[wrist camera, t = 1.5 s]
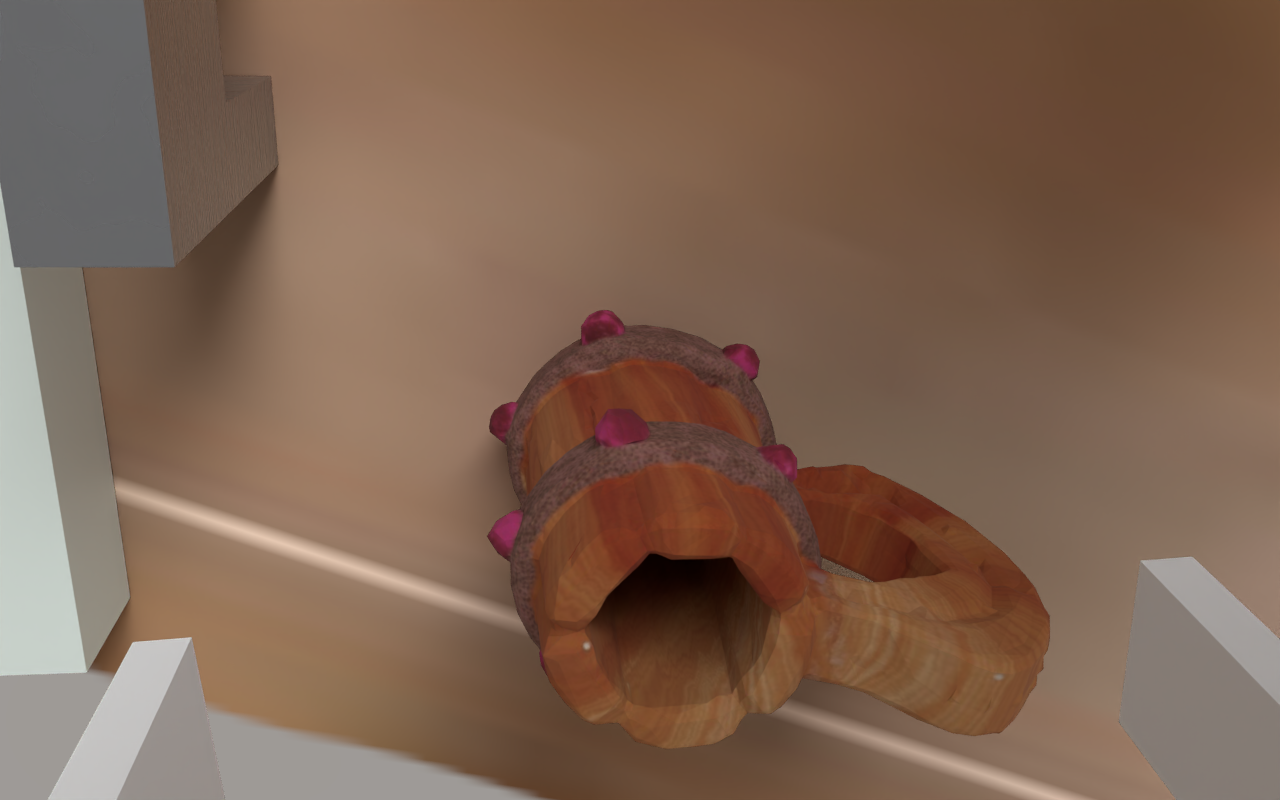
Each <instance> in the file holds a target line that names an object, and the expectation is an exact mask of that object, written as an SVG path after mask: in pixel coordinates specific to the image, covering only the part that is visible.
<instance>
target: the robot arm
mask: <svg viewBox="0 0 1280 800" xmlns="http://www.w3.org/2000/svg"><path fill="white" fill-rule="evenodd" d="M1119 723H1120V725H1121V726H1122V727H1123V729H1124V730H1125V731H1126V733H1127V734H1128V735H1129V737H1130V738H1131V739H1132V741H1133V742H1134V743H1135V745H1136V746H1137V748H1138V749H1139V750H1140V752H1141V753H1142V754H1143V756H1144V757H1145V758H1146V760H1147V761H1148V762H1149V764H1150V765H1151V766H1152V768H1153V769H1154V770H1155V772H1156V773H1157V774H1158V776H1159V777H1160V778H1161V780H1162V781H1163V782H1164V784H1165V785H1166V786H1167V788H1168V789H1169V790H1170V792H1171V793H1172V794H1173V796H1174V797H1175V799H1176V800H1280V639H1279V638H1278V637H1277V636H1276V635H1275V634H1274V633H1273V632H1272V631H1270V630H1269V629H1268V628H1267V627H1266V626H1265V625H1264V624H1263V623H1262V622H1261V621H1260V620H1259V619H1258V618H1257V617H1256V616H1255V615H1254V614H1253V613H1251V612H1250V611H1249V610H1248V609H1247V608H1246V607H1245V606H1244V605H1243V604H1242V603H1241V602H1240V601H1239V600H1238V599H1237V598H1236V597H1235V596H1234V595H1232V594H1231V593H1230V592H1229V591H1228V590H1227V589H1226V588H1225V587H1224V586H1223V585H1222V584H1221V583H1220V582H1219V581H1218V580H1217V579H1216V578H1215V577H1213V576H1212V575H1211V574H1210V573H1209V572H1208V571H1207V570H1206V569H1205V568H1204V567H1203V566H1202V565H1201V564H1200V563H1199V562H1198V561H1197V560H1196V559H1194V558H1193V557H1181V558H1168V559H1156V560H1143V561H1140V566H1139V574H1138V581H1137V589H1136V596H1135V604H1134V611H1133V619H1132V626H1131V634H1130V641H1129V648H1128V656H1127V663H1126V671H1125V678H1124V686H1123V693H1122V701H1121V708H1120V716H1119ZM48 800H225V796H224V792H223V787H222V782H221V777H220V772H219V768H218V763H217V758H216V753H215V749H214V743H213V738H212V734H211V729H210V724H209V719H208V714H207V709H206V705H205V700H204V695H203V690H202V685H201V680H200V676H199V671H198V666H197V661H196V656H195V651H194V647H193V642H192V637H190V638H178V639H166V640H153V641H141V642H133V643H132V645H131V647H130V648H129V650H128V652H127V654H126V656H125V658H124V659H123V661H122V663H121V665H120V667H119V669H118V671H117V672H116V674H115V676H114V678H113V680H112V682H111V684H110V685H109V687H108V689H107V691H106V693H105V695H104V696H103V698H102V700H101V702H100V704H99V706H98V708H97V709H96V711H95V713H94V715H93V717H92V719H91V720H90V723H89V724H88V726H87V728H86V730H85V732H84V733H83V735H82V737H81V739H80V741H79V743H78V745H77V746H76V748H75V750H74V752H73V754H72V756H71V758H70V759H69V761H68V763H67V765H66V767H65V769H64V770H63V772H62V774H61V776H60V778H59V780H58V781H57V784H56V785H55V787H54V789H53V791H52V793H51V795H50V796H49V798H48Z"/></svg>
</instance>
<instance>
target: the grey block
mask: <svg viewBox="0 0 1280 800" xmlns="http://www.w3.org/2000/svg"><path fill="white" fill-rule="evenodd" d="M277 166H278V156H277V144H276V131H275V119H274V107H273V95H272V83H271V76H225V75H223V68H222V58H221V48H220V37H219V27H218V17H217V6H216V0H0V186H1V192H2V198H3V204H4V210H5V216H6V222H7V228H8V234H9V240H10V246H11V252H12V258H13V264H14V267H175V266H176V265H177V264H178V263H179V262H180V261H181V260H183V259H184V258H185V257H186V256H187V255H188V254H189V253H190V252H191V251H192V250H193V249H194V248H195V247H196V246H197V245H198V244H199V243H200V242H201V241H202V240H203V239H204V238H205V237H206V236H207V235H208V234H209V233H210V232H211V231H212V230H213V229H214V228H215V227H216V226H217V225H218V224H219V223H220V222H221V221H222V220H223V219H224V218H225V217H226V216H227V215H228V214H229V213H230V212H231V211H232V210H233V209H234V208H235V207H236V206H237V205H238V204H239V203H240V202H241V201H242V200H243V199H244V198H245V197H246V196H247V195H248V194H249V193H250V192H251V191H252V190H253V189H254V188H255V187H256V186H257V185H259V184H260V183H261V182H262V181H263V180H264V179H265V178H266V177H267V176H268V175H269V174H270V173H271V172H272V171H273V170H274V169H275V168H276V167H277Z"/></svg>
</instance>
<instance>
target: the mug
mask: <svg viewBox="0 0 1280 800" xmlns="http://www.w3.org/2000/svg"><path fill="white" fill-rule="evenodd" d="M759 363H760V361H759V359H758V356H757V354H756V352H755V350H753V349H752V348H750V347H749V346H747V345H743V344H734V345H729V346H726V347H725V348H724V349H723V350H722V349H720V348H718V347H716V346H715V345H713V344H711V343H709V342H707V341H706V340H704V339H702V338H700V337H697V336H694V335H690V334H687V333H684V332H680V331H677V330H673V329H668V328H661V327H654V326H647V325H637V326H624V324H623V323H622V321H621V320H620V319H619V318H618V317H617V316H616V315H615V314H614V313H613V312H612V311H608V310H601V311H597V312H595V313H593V314H591V315H589V316H588V317H587V319H586V320H585V322H584V323H583V324H582V326H581V339H580V340H578V341H576V342H574V343H572V344H571V345H570V346H568V347H566V348H565V349H563V350H561V351H560V352H559V353H558V354H557V355H555V356H554V357H553V358H552V359H551V360H550V361H548V362H547V363H546V364H545V365H544V366H543V367H542V368H541V369H540V370H539V371H538V372H537V373H536V374H535V375H534V376H533V378H532V379H531V381H530V382H529V384H528V385H527V387H526V388H525V390H524V391H523V393H522V394H521V396H520V397H519V399H518V400H517V402H510V403H507V404H503V405H501V406H500V407H498V408H497V409H496V410H494V412H493V414H492V416H491V419H490V425H489V429H490V432H491V433H492V434H493V435H495V436H496V437H497V438H498V439H500V440H501V441H502V442H503V443H504V444H506V445H507V453H508V463H509V472H510V475H511V479H512V483H513V487H514V491H515V493H516V495H517V497H518V499H519V501H520V503H521V508H520V509H519V510H515V511H512V512H510V513H509V514H507V515H505V516H504V517H502V518H501V519H499V520H497V521H496V523H495V524H494V526H493V527H492V529H491V531H490V532H489V534H488V536H487V537H488V539H489V540H490V542H491V544H492V545H493V547H494V548H495V550H496V551H497V553H499V554H500V555H501V556H503V557H504V558H505V559H507V560H508V561H509V562H511V587H512V591H513V595H514V599H515V604H516V608H517V612H518V615H519V617H520V619H521V621H522V622H523V624H524V626H525V628H526V630H527V632H528V634H529V636H530V638H531V639H532V640H533V641H534V642H535V644H536V645H537V646H538V647H539V649H540V652H539V655H540V661H541V666H542V668H543V669H544V671H545V673H546V674H547V676H548V678H549V681H550V683H551V684H552V686H553V687H554V688H555V690H556V691H557V692H558V694H559V695H560V697H561V698H562V699H563V701H564V702H565V703H566V704H567V705H568V706H569V707H570V708H571V709H572V710H573V711H574V712H575V713H576V714H577V715H578V716H579V717H580V718H581V719H582V720H584V721H587V722H589V723H592V724H594V725H595V724H606V723H616V722H618V723H619V724H620V725H621V726H622V727H623V728H624V729H625V730H626V732H627V733H628V734H629V735H630V736H631V737H632V738H633V739H634V741H635V742H639V743H643V744H647V745H651V746H655V747H660V748H664V749H671V748H684V747H696V746H702V745H709V744H715V743H717V742H719V741H721V740H723V739H724V738H726V737H728V736H730V735H732V734H734V732H735V731H736V729H737V727H738V725H739V723H740V722H741V720H742V718H743V717H744V716H745V715H746V714H747V713H761V714H771V713H773V712H774V711H775V710H777V709H778V708H780V707H781V706H782V705H783V704H784V703H785V702H786V701H787V699H788V698H789V697H790V696H791V695H792V694H793V693H794V692H795V690H796V689H797V687H798V685H799V683H800V681H801V679H802V678H804V679H810V680H815V681H821V682H827V683H833V684H838V685H841V686H844V687H848V688H851V689H855V690H858V691H862V692H864V693H866V694H868V695H870V696H872V697H874V698H876V699H878V700H880V701H882V702H884V703H886V704H888V705H890V706H892V707H894V708H896V709H898V710H900V711H902V712H904V713H906V714H908V715H910V716H912V717H914V718H916V719H918V720H920V721H923V722H925V723H928V724H931V725H933V726H936V727H938V728H941V729H943V730H946V731H948V732H951V733H956V734H963V735H971V736H978V735H984V734H991V733H1000V732H1002V731H1003V730H1004V729H1005V728H1006V727H1007V726H1008V725H1009V724H1010V723H1011V722H1012V721H1013V720H1014V719H1015V717H1016V716H1017V715H1018V713H1019V712H1020V710H1021V708H1022V707H1023V705H1024V703H1025V701H1026V699H1027V697H1028V695H1029V694H1030V692H1031V691H1032V690H1033V689H1034V687H1035V686H1036V682H1037V674H1038V673H1039V672H1041V671H1042V670H1043V657H1044V655H1045V653H1046V652H1047V650H1048V645H1049V639H1050V616H1049V614H1048V613H1047V611H1046V609H1045V608H1044V606H1043V604H1042V602H1041V600H1040V597H1039V595H1038V593H1037V591H1036V589H1035V587H1034V586H1033V584H1032V583H1031V582H1030V581H1029V579H1028V578H1027V577H1026V576H1025V574H1024V573H1023V572H1022V571H1021V570H1020V569H1019V568H1018V567H1017V566H1016V565H1015V564H1014V563H1013V562H1012V561H1011V560H1010V558H1009V557H1008V556H1007V555H1006V554H1005V553H1004V552H1003V551H1002V550H1000V549H999V548H998V547H997V546H995V545H994V544H993V543H992V542H990V541H989V540H988V539H987V538H985V537H984V536H983V535H982V534H980V533H979V532H978V531H977V530H976V529H974V528H973V527H972V526H971V525H969V524H968V523H967V522H966V521H964V520H962V519H960V518H959V517H957V516H955V515H954V514H952V513H950V512H949V511H947V510H945V509H944V508H942V507H940V506H939V505H937V504H935V503H934V502H932V501H930V500H929V499H927V498H925V497H924V496H922V495H920V494H918V493H916V492H914V491H912V490H910V489H908V488H906V487H904V486H902V485H900V484H898V483H896V482H894V481H892V480H890V479H888V478H886V477H884V476H881V475H878V474H875V473H872V472H870V471H869V470H868V469H866V468H865V467H863V466H856V465H847V464H843V465H837V466H831V467H818V468H815V467H813V466H812V467H807V468H802V469H797V458H796V457H795V455H794V454H793V452H792V451H791V449H790V448H788V447H787V446H786V445H784V444H781V445H777V444H776V439H775V435H774V431H773V426H772V422H771V419H770V416H769V413H768V411H767V408H766V406H765V403H764V401H763V398H762V396H761V393H760V392H759V390H758V389H757V387H756V385H755V384H754V382H753V381H752V380H753V379H755V378H756V377H757V375H758V369H759ZM821 557H823V558H825V559H827V560H830V561H832V562H834V563H836V564H838V565H841V566H843V567H845V568H847V569H850V570H852V571H854V572H856V573H858V574H861V575H863V576H865V577H866V578H868V579H870V580H872V581H873V582H867V581H863V580H858V579H854V578H850V577H845V576H841V575H836V574H833V573H830V572H827V571H824V570H822V569H821Z"/></svg>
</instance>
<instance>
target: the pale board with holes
mask: <svg viewBox="0 0 1280 800" xmlns="http://www.w3.org/2000/svg"><path fill="white" fill-rule="evenodd" d="M129 599H130V592H129V585H128V579H127V572H126V565H125V558H124V551H123V544H122V537H121V530H120V524H119V517H118V510H117V503H116V496H115V489H114V482H113V476H112V469H111V462H110V455H109V448H108V441H107V434H106V427H105V421H104V414H103V407H102V400H101V393H100V386H99V379H98V373H97V366H96V359H95V352H94V345H93V338H92V331H91V324H90V318H89V311H88V304H87V297H86V290H85V283H84V276H83V270H82V267H14V264H13V258H12V252H11V246H10V240H9V234H8V228H7V222H6V216H5V210H4V204H3V198H2V192H1V186H0V676H8V675H37V674H38V675H39V674H67V673H87V672H88V670H89V668H90V667H91V665H92V663H93V661H94V660H95V658H96V656H97V654H98V653H99V651H100V649H101V647H102V646H103V644H104V642H105V640H106V639H107V637H108V635H109V634H110V632H111V630H112V628H113V627H114V625H115V623H116V621H117V620H118V618H119V616H120V614H121V613H122V611H123V609H124V607H125V606H126V604H127V602H128V600H129Z"/></svg>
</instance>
